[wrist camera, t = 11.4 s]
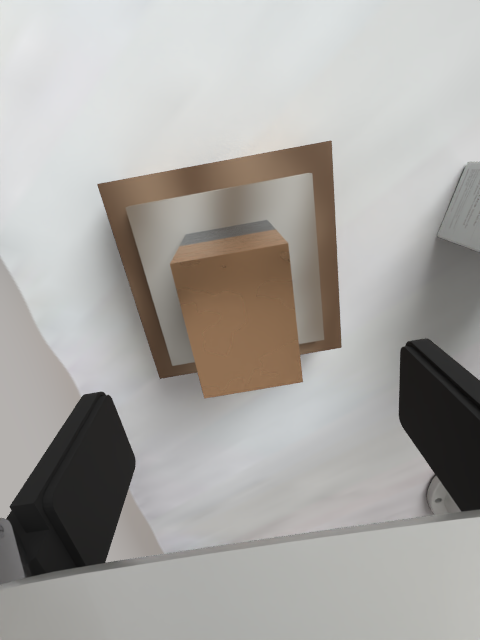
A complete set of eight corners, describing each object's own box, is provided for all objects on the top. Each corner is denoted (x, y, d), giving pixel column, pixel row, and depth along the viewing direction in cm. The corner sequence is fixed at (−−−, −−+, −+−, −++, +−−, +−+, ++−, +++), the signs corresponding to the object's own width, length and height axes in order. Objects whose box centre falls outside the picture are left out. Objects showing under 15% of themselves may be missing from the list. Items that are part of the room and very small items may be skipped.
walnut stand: (310, 145, 24) (336, 139, 19) (323, 320, 30) (345, 354, 24) (120, 181, 24) (91, 184, 19) (169, 347, 30) (157, 386, 25)
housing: (267, 219, 20) (288, 243, 14) (280, 323, 23) (302, 381, 17) (185, 234, 20) (169, 264, 14) (208, 335, 23) (204, 398, 17)
